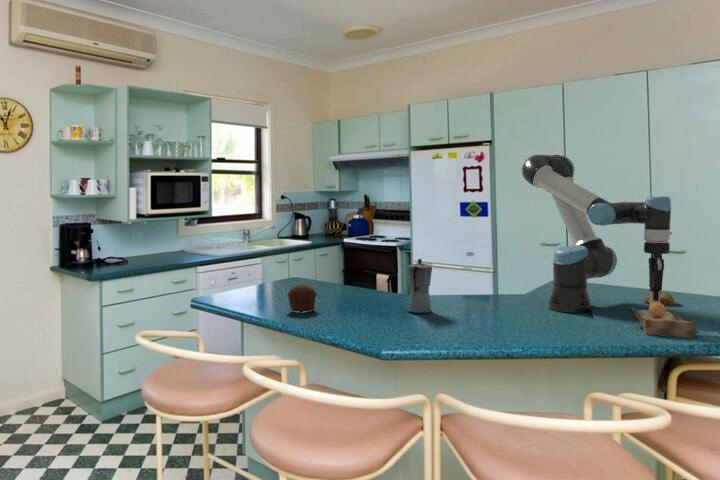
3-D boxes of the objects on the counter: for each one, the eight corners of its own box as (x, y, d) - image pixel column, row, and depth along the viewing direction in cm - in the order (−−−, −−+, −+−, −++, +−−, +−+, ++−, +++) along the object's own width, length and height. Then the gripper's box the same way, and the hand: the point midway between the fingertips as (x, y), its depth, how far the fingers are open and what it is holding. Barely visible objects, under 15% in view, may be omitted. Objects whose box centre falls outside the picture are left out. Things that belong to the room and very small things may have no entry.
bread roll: (673, 319, 183) (684, 300, 181) (646, 307, 184) (657, 288, 183) (663, 312, 192) (673, 294, 191) (637, 301, 194) (647, 283, 193)
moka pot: (434, 307, 194) (434, 256, 192) (429, 317, 179) (428, 262, 177) (410, 306, 196) (409, 256, 195) (403, 316, 182) (402, 262, 180)
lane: (645, 334, 152) (645, 320, 152) (631, 312, 179) (631, 300, 179) (695, 337, 148) (695, 323, 147) (672, 315, 174) (673, 302, 174)
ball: (647, 309, 171) (649, 320, 168) (647, 299, 168) (650, 310, 165) (663, 309, 170) (666, 320, 166) (664, 299, 167) (668, 310, 163)
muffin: (323, 309, 195) (322, 284, 194) (305, 315, 185) (304, 289, 185) (300, 306, 201) (299, 282, 200) (281, 312, 192) (280, 286, 191)
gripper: (674, 243, 162) (671, 314, 164) (665, 239, 174) (663, 305, 177) (647, 243, 165) (645, 312, 167) (641, 239, 177) (639, 304, 179)
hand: (654, 309), depth 172 cm, fingers closed
